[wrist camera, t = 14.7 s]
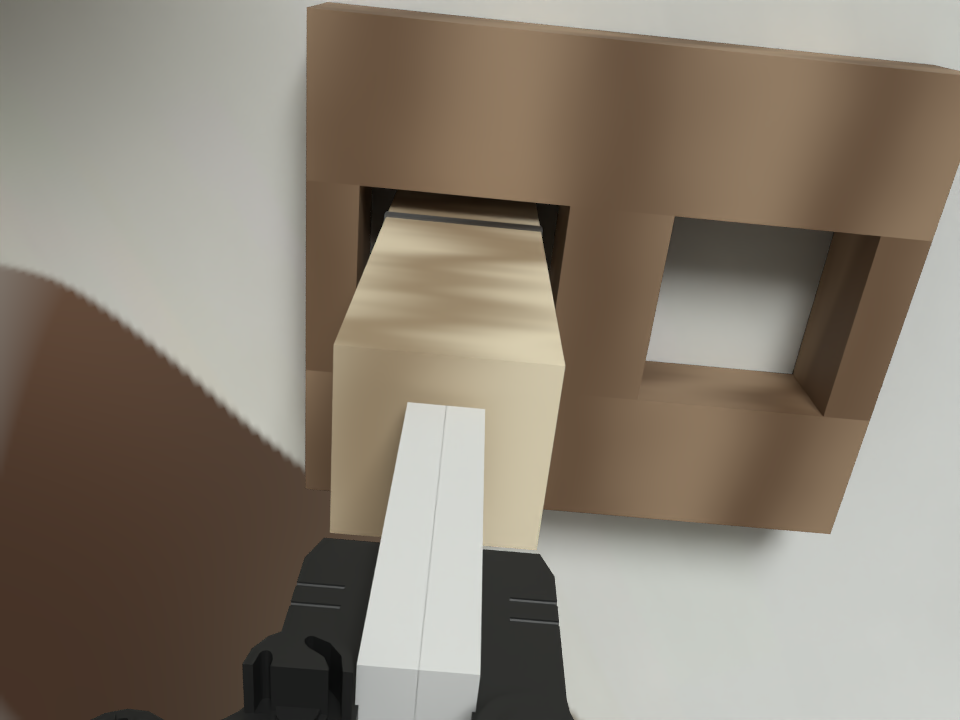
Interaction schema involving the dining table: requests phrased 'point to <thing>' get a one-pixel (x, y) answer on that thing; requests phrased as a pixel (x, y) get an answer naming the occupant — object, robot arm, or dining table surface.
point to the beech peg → (449, 356)
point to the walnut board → (642, 232)
